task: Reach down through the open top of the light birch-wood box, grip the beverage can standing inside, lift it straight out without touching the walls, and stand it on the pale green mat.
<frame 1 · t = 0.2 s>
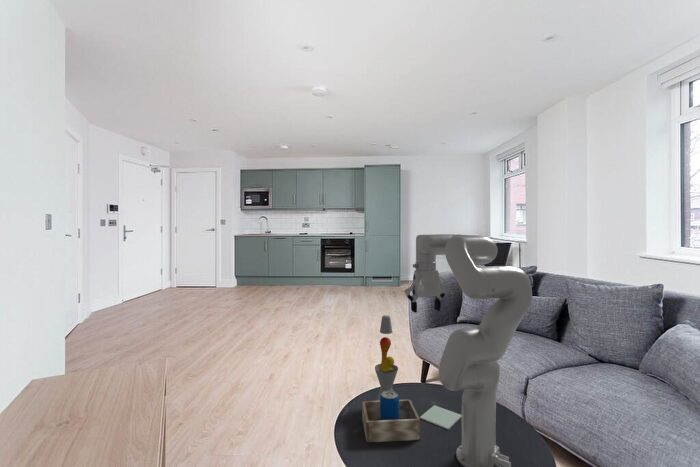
hand: (425, 311, 134), 37 cm above the table, tool pointing down, fingers open, 9 cm apart
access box: (389, 428, 119), on the table
lava lamp: (386, 406, 134), on the table
beverage can: (389, 429, 119), resting in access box
green mat: (440, 417, 126), on the table
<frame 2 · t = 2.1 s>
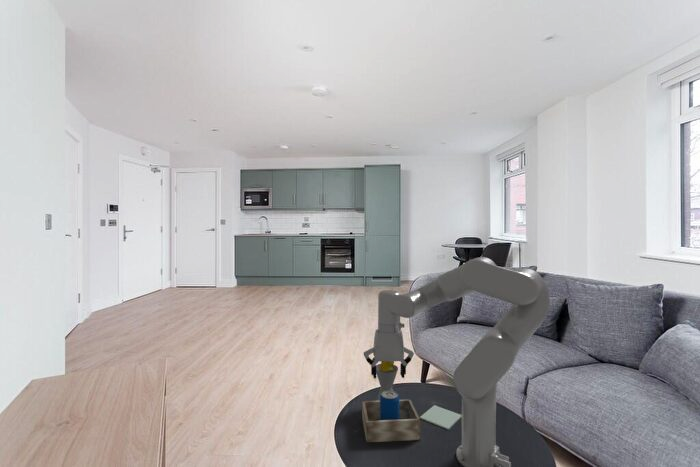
hand: (388, 376, 119), 18 cm above the table, tool pointing down, fingers open, 9 cm apart
nothing on the table moved.
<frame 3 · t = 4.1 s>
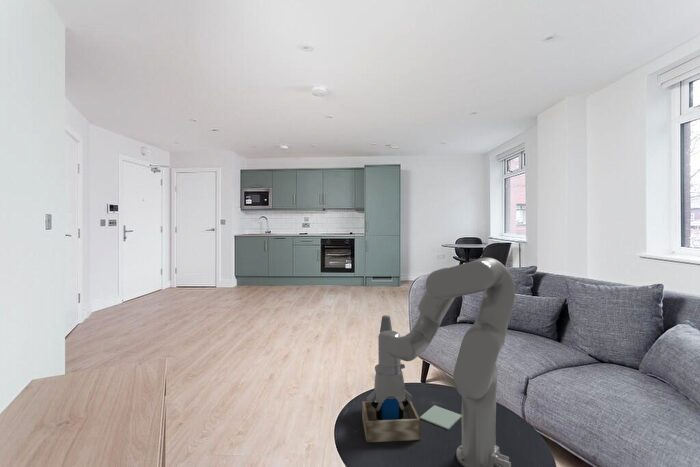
hand: (389, 419, 119), 3 cm above the table, tool pointing down, fingers closed on beverage can, 6 cm apart
beverage can: (389, 429, 119), resting in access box, touching gripper
everything else where it was.
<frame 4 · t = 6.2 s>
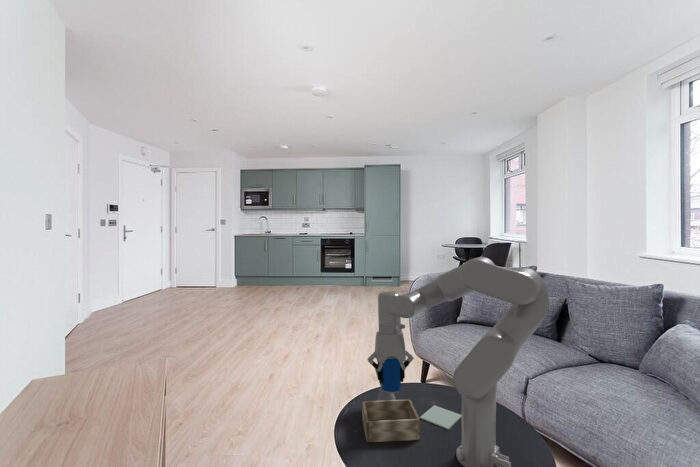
hand: (391, 380, 119), 17 cm above the table, tool pointing down, fingers closed on beverage can, 6 cm apart
beverage can: (391, 390, 119), point 13 cm above the table, touching gripper
everything else where it was.
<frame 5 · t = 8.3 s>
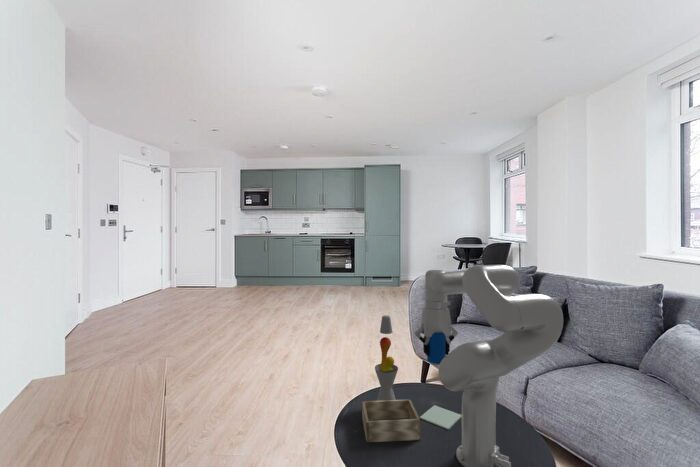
hand: (436, 353, 125), 23 cm above the table, tool pointing down, fingers closed on beverage can, 6 cm apart
beverage can: (436, 363, 125), point 20 cm above the table, touching gripper
everything else where it was.
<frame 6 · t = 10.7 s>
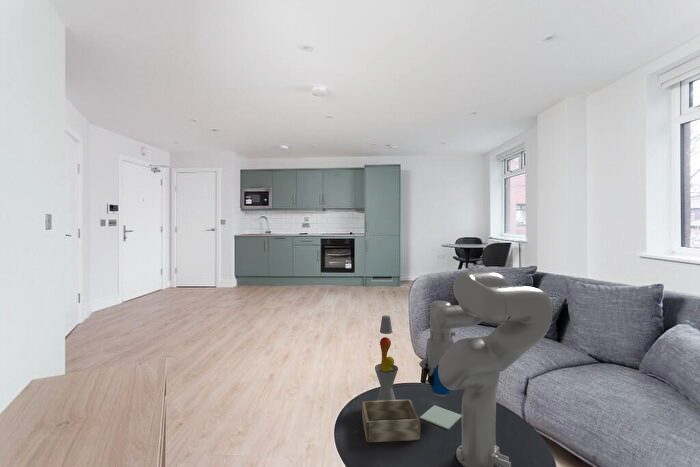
hand: (440, 384, 126), 12 cm above the table, tool pointing down, fingers closed on beverage can, 6 cm apart
beverage can: (440, 393, 126), point 9 cm above the table, touching gripper
everything else where it was.
when the fingers open (5 cm above the table, at t = 12.6 s): beverage can drops 1 cm, resting on green mat.
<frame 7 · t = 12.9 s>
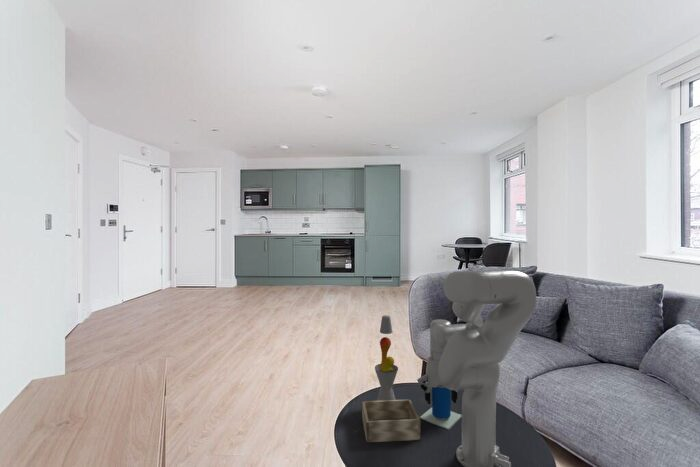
hand: (440, 401, 126), 6 cm above the table, tool pointing down, fingers open, 9 cm apart
beverage can: (441, 416, 126), resting on green mat
everything else where it was.
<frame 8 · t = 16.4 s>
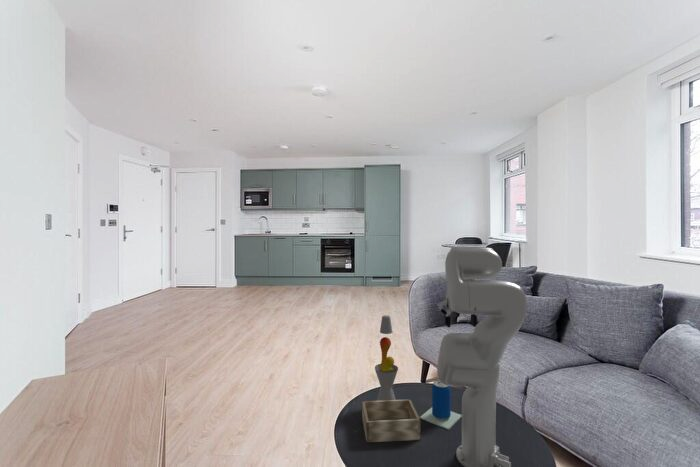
hand: (460, 326, 129), 32 cm above the table, tool pointing down, fingers open, 9 cm apart
nothing on the table moved.
at the end: beverage can inside the target area on the green mat (0.1 cm from its centre), point 0.3 cm above the green mat's base; beverage can tilted 0°; the gripper is holding nothing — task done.
